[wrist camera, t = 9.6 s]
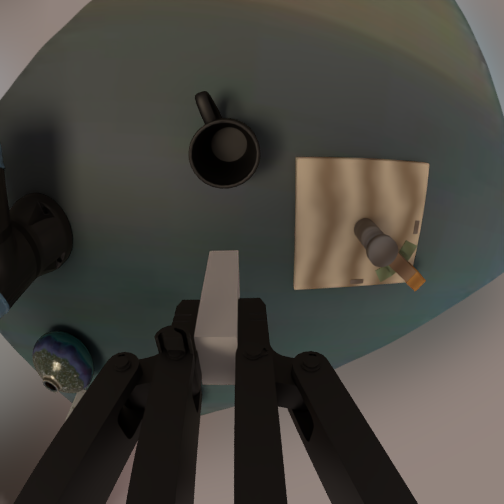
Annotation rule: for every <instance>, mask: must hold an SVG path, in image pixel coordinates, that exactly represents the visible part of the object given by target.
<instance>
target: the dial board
mask: <svg viewBox="0 0 504 504" xmlns="http://www.w3.org/2000/svg"><path fill="white" fill-rule="evenodd" d="M428 173H429V164H428V163H426V162H415V161H403V160H389V159H371V158H345V157H296V202H295V254H294V285H293V286H294V290H300V289H318V288H335V287H350V286H364V285H377V284H390V283H401V282H405V281H404V279H403V278H401V277H400V276H399V275H398V274H397V273H396V272H395V271H394V270H393V269H392V268H391V267H390V266H389V265H388V266H385V267H376V266H374V265H373V264H372V263H371V261H370V260H369V258H368V257H367V254H366V249H365V248H364V246H363V245H362V244H361V242H360V241H359V240H358V238H357V237H356V235H355V234H354V226H355V224H356V223H357V222H358V221H359V220H360V219H363V218H368V219H371V220H372V221H373V222H374V223H375V224H376V225H377V227H378V228H379V229H380V230H381V231H382V232H383V233H384V234H386V235H389V236H390V237H391V238H392V239H393V240H394V241H395V242H396V244H397V246H398V252H399V253H400V254H401V255H402V256H403V257H404V258H405V259H406V260H407V261H408V262H410V263H411V264H412V265H413V263H414V259H415V254H416V249H417V245H418V239H419V234H420V229H421V223H422V217H423V211H424V204H425V197H426V190H427V182H428Z"/></svg>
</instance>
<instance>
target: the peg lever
mask: <svg viewBox="0 0 504 504" xmlns="http://www.w3.org/2000/svg"><path fill="white" fill-rule="evenodd" d="M354 234H355V235H356V237H357V238H358V240H359V241H360V242H361V244H362V245H363V246H364V248H365V249H366V254H367V257H368V258H369V260H370V261H371V263H372V264H373V265H374V266H376V267H385V266H388V265H389V266H390V267H391V268H392V269H393V270H394V271H395V272H396V273H397V274H398V275H399V276H400V277H401V278H403V279H404V281H405V282H406V283H407V284H408V285H409V286H410V287H411V288H412V289H413V290H414V291H416V290H417V289H418V288H419V287H420V286H421V285H422V284H423V283H424V282H425V281H426V280H425V279H424V278H423V277H422V275H421V274H420V273H419V272H418V271H417V270H416V269H415V268H414V267H413V265H412V264H411V263H410V262H408V261H407V260H406V259H405V258H404V257H403V256H402V255H401V254H400V253H399V252H398V246H397V244H396V242H395V241H394V240H393V239H392V238H391V237H390V236H389V235H386V234H384V233H383V232H382V231H381V230H380V229H379V228H378V227H377V225H376V224H375V223H374V222H373V221H372V220H371V219H368V218H363V219H360V220H359V221H358V222H357V223H356V224H355V226H354Z"/></svg>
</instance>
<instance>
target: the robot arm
mask: <svg viewBox="0 0 504 504" xmlns="http://www.w3.org/2000/svg"><path fill="white" fill-rule="evenodd" d="M4 169H5V165H4V164H3V157H2V147H1V143H0V318H1V317H2V316H3V315H4V314H6V313H8V311H9V309H10V308H11V307H12V306H13V304H14V303H15V302H16V301H17V300H18V298H19V297H20V296H21V295H22V294H23V293H24V291H25V290H26V289H27V288H28V287H29V286H30V285H31V283H32V282H33V281H34V280H35V279H36V278H37V277H39V276H42V275H44V274H47V273H49V272H52V271H54V270H56V269H58V268H59V267H60V266H61V265H62V264H63V263H64V262H65V261H66V260H67V259H68V257H69V255H70V253H71V249H72V231H71V227H70V224H69V221H68V219H67V217H66V215H65V213H64V212H63V210H62V209H61V208H60V206H59V205H58V204H57V203H56V202H55V201H54V200H52V199H51V198H50V197H48V196H46V195H43V194H40V193H31V194H28V195H26V196H24V197H22V198H21V199H19V200H18V201H17V202H16V203H15V204H14V205H13V206H12V208H11V209H10V210H9V206H8V200H7V192H6V184H5V174H4ZM155 340H156V344H157V347H158V351H159V354H157V355H155V356H152V357H149V358H144V359H138V358H137V357H136V355H134V354H132V353H128V352H122V353H118V354H116V355H114V356H112V357H111V358H110V359H109V360H108V361H107V363H106V364H105V365H104V367H103V368H102V370H101V371H100V372H99V374H98V375H97V377H96V378H95V379H94V381H93V382H92V384H91V385H90V386H89V388H88V389H87V391H86V392H85V394H84V395H83V396H82V398H81V399H80V401H79V402H78V404H77V405H76V407H75V408H74V409H73V411H72V412H71V414H70V415H69V417H68V418H67V420H66V421H65V423H64V424H63V426H62V427H61V429H60V430H59V432H58V433H57V435H56V436H55V438H54V439H53V441H52V442H51V444H50V446H49V447H48V449H47V450H46V452H45V453H44V455H43V456H42V458H41V459H40V461H39V463H38V464H37V466H36V467H35V469H34V471H33V473H32V474H31V475H30V477H29V479H28V480H27V482H26V484H25V485H24V487H23V489H22V491H21V492H20V494H19V495H18V497H17V499H16V501H15V502H14V504H106V502H107V500H108V497H109V496H110V494H111V492H112V490H113V488H114V486H115V484H116V482H117V480H118V478H119V476H120V474H121V472H122V470H123V468H124V466H125V464H126V462H127V460H128V458H129V456H130V454H131V452H132V450H133V449H134V446H135V444H136V443H137V441H138V443H137V447H136V453H135V458H134V462H133V468H132V473H131V478H130V483H129V489H128V495H127V500H126V504H194V489H195V488H194V487H195V474H196V461H197V447H198V435H199V424H200V413H201V402H202V391H201V379H202V383H203V385H235V426H234V430H235V431H234V433H235V434H234V436H235V437H234V504H287V497H286V496H287V495H286V485H285V474H284V464H283V455H282V444H281V434H280V424H279V415H278V406H279V407H284V408H288V411H289V413H290V415H291V418H292V420H293V422H294V424H295V427H296V429H297V431H298V433H299V435H300V438H301V440H302V442H303V444H304V446H305V448H306V450H307V453H308V455H309V457H310V459H311V461H312V463H313V466H314V468H315V470H316V472H317V474H318V476H319V478H320V480H321V482H322V484H323V486H324V488H325V491H326V493H327V495H328V497H329V499H330V501H331V503H332V504H418V503H417V501H416V500H415V498H414V497H413V495H412V494H411V492H410V490H409V488H408V487H407V485H406V484H405V482H404V480H403V479H402V477H401V476H400V474H399V472H398V471H397V469H396V468H395V466H394V465H393V463H392V461H391V460H390V458H389V456H388V455H387V453H386V452H385V450H384V448H383V447H382V445H381V444H380V442H379V440H378V439H377V437H376V436H375V434H374V432H373V431H372V429H371V428H370V426H369V424H368V423H367V421H366V420H365V418H364V416H363V415H362V413H361V412H360V410H359V409H358V407H357V405H356V404H355V402H354V401H353V399H352V397H351V396H350V394H349V393H348V391H347V389H346V388H345V386H344V385H343V383H342V382H341V380H340V379H339V377H338V375H337V374H336V372H335V371H334V369H333V367H332V366H331V364H330V363H329V361H328V360H327V359H326V357H325V356H324V355H322V354H320V353H318V352H312V351H309V352H303V353H300V354H298V355H297V356H296V357H295V358H290V357H285V356H282V355H280V354H278V353H276V352H275V351H274V350H273V349H272V348H271V346H270V342H269V333H268V324H267V314H266V305H265V304H264V302H263V301H262V300H261V299H260V298H240V285H239V257H238V250H231V251H210V252H209V258H208V263H207V268H206V273H205V278H204V283H203V289H202V294H201V300H182V301H181V303H180V304H179V305H178V306H177V307H176V311H175V316H174V318H173V322H172V326H167V327H164V328H162V329H161V330H159V331H158V332H157V333H156V335H155Z"/></svg>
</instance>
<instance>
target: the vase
mask: <svg viewBox="0 0 504 504" xmlns="http://www.w3.org/2000/svg"><path fill="white" fill-rule="evenodd" d="M32 357H33V363H34V366H35V368H36V370H37V372H38V374H39V375H40V377H41V378H42V379H43V384H44V386H45V387H46V388H47V389H48V390H50V391H52V392H58V391H61V392H66V393H77V392H80V391H82V390H84V389H85V388H86V387H87V386H88V385H89V384H90V382H91V380H92V378H93V373H94V364H93V359H92V356H91V354H90V352H89V350H88V348H87V347H86V346H85V345H84V344H83V343H82V342H81V341H80V340H79V339H78V338H77V337H75V336H73V335H71V334H69V333H67V332H63V331H52V332H48V333H46V334H44V335H43V336H41V337H40V338H39V339H38V340H37V342H36V343H35V345H34V348H33V354H32Z"/></svg>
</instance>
